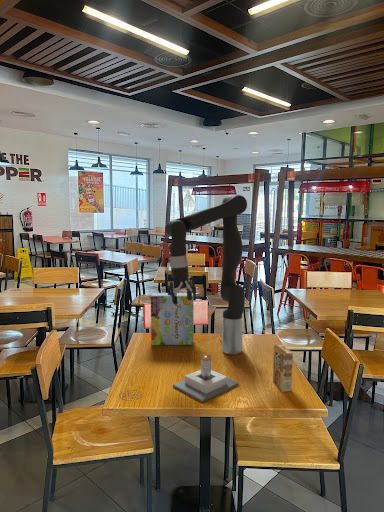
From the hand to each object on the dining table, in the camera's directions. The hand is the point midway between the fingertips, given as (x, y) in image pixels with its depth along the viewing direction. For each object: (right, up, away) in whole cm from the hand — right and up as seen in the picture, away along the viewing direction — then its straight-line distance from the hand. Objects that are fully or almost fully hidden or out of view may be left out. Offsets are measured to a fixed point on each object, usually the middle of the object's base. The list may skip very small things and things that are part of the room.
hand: (182, 302), depth 164 cm
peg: (+9, -29, -19) cm, 36 cm away
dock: (+10, -30, -19) cm, 37 cm away
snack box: (-6, -25, +27) cm, 37 cm away
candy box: (+39, -31, -19) cm, 53 cm away
